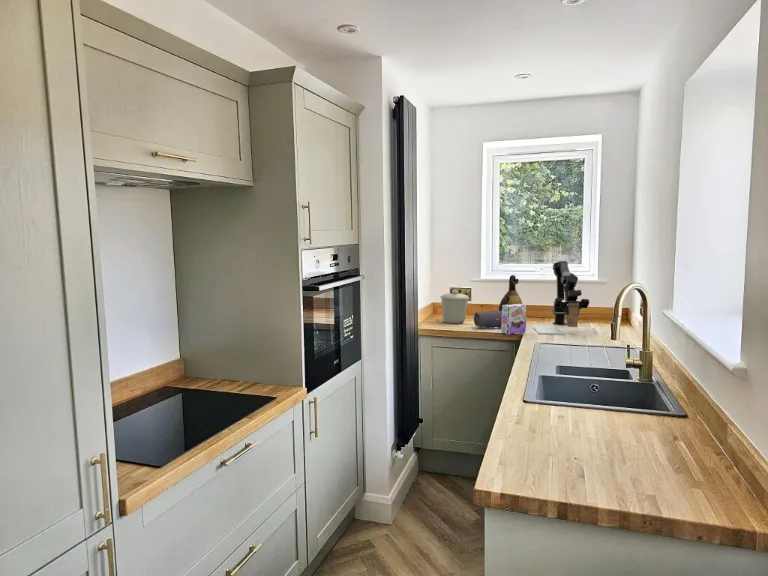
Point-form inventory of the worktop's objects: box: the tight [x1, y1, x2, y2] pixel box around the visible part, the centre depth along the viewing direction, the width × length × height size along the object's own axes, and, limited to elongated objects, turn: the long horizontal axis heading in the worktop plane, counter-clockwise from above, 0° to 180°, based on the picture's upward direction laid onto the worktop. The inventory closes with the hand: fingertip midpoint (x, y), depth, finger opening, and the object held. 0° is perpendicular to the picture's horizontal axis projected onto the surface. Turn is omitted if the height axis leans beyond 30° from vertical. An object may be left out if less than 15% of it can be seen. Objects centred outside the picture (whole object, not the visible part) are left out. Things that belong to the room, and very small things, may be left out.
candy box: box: [500, 304, 527, 335], centre depth 302 cm, size 14×6×16 cm, turn 117°
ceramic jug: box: [498, 274, 524, 311], centre depth 341 cm, size 17×15×30 cm
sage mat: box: [531, 325, 565, 336], centre depth 310 cm, size 22×14×1 cm, turn 174°
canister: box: [439, 289, 470, 325], centre depth 335 cm, size 18×18×21 cm
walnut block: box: [565, 303, 580, 328], centre depth 300 cm, size 4×5×13 cm
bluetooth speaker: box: [473, 310, 502, 329], centre depth 319 cm, size 23×9×10 cm, turn 106°
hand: (573, 315), depth 299 cm, fingers closed on walnut block, 5 cm apart
